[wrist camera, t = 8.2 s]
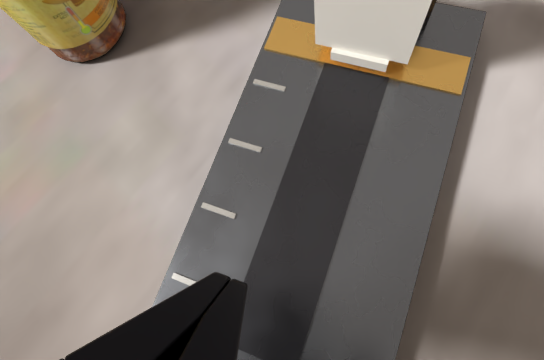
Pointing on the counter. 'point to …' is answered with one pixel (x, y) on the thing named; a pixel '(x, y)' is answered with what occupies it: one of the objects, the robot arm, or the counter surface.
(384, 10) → the fader tab
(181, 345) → the robot arm
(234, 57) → the counter surface
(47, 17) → the sauce bottle
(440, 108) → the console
